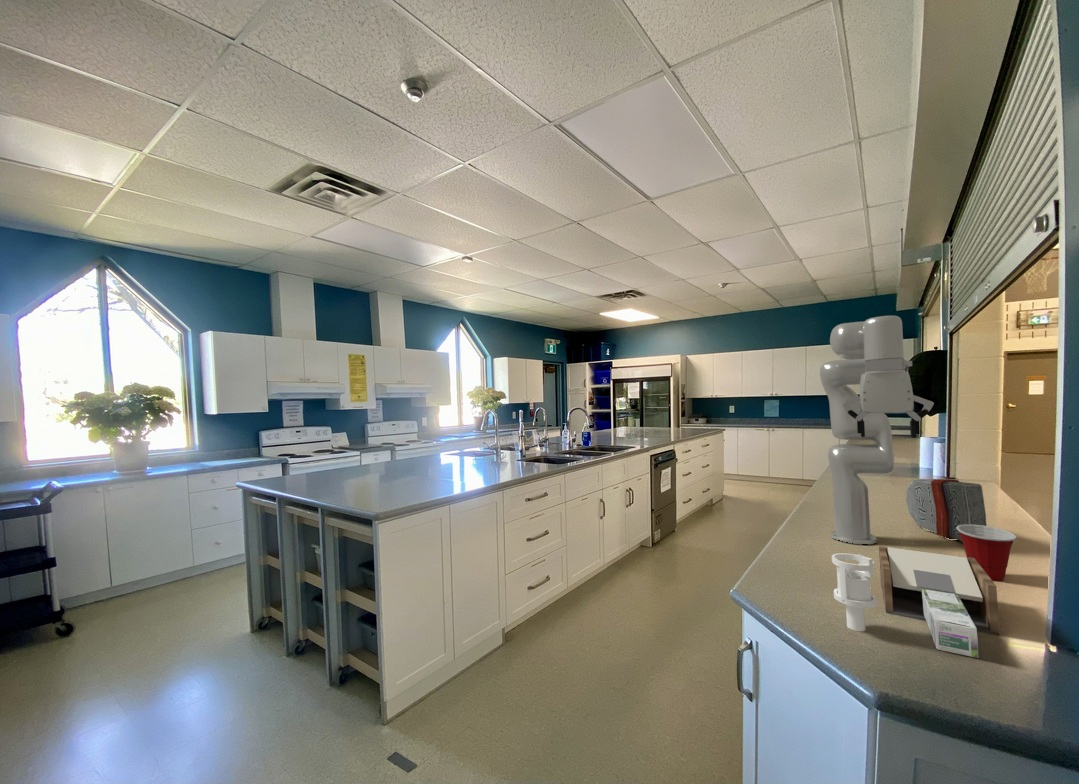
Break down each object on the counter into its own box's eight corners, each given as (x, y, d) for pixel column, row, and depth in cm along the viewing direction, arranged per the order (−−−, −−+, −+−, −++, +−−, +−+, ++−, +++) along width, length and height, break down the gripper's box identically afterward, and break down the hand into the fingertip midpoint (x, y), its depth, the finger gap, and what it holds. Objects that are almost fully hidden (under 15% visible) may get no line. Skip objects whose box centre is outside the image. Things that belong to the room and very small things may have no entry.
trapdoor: (887, 550, 106) (887, 546, 105) (966, 561, 97) (966, 557, 97) (893, 586, 95) (893, 582, 94) (982, 602, 86) (982, 597, 86)
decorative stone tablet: (986, 482, 130) (920, 475, 159) (961, 482, 132) (900, 475, 161) (994, 548, 128) (926, 529, 157) (969, 547, 129) (906, 528, 158)
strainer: (864, 640, 83) (860, 561, 83) (827, 623, 89) (823, 551, 90) (885, 631, 86) (881, 555, 86) (848, 616, 92) (844, 545, 93)
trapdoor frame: (880, 583, 108) (878, 545, 108) (976, 600, 98) (974, 558, 98) (886, 612, 93) (883, 568, 93) (999, 635, 83) (996, 586, 83)
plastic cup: (974, 583, 107) (970, 534, 107) (950, 567, 117) (947, 523, 117) (1032, 588, 103) (1028, 537, 103) (1002, 571, 113) (998, 525, 113)
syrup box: (922, 614, 91) (936, 652, 79) (921, 586, 91) (934, 620, 79) (959, 621, 88) (980, 661, 76) (958, 592, 87) (977, 628, 76)
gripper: (928, 365, 103) (932, 436, 102) (840, 370, 113) (844, 434, 112) (934, 363, 97) (938, 439, 96) (841, 369, 107) (844, 437, 106)
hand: (887, 436), depth 104 cm, fingers open, 9 cm apart
